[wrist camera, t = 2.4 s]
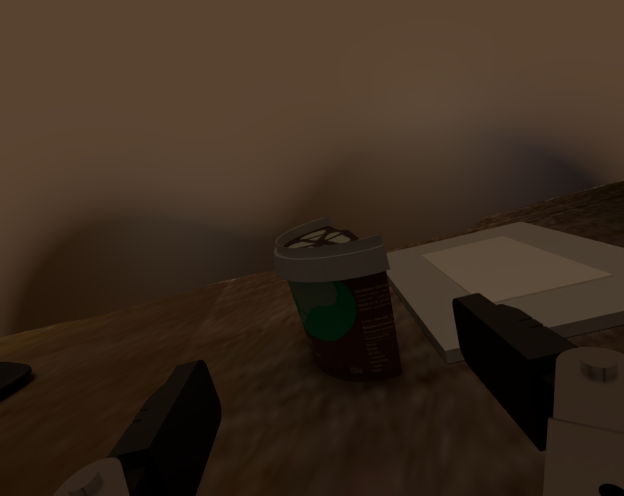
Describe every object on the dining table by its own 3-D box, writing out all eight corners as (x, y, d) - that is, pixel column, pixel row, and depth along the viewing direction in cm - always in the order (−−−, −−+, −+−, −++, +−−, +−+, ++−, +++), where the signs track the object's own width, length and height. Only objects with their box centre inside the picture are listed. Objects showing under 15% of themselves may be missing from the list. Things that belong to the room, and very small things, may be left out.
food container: (290, 334, 32) (261, 233, 30) (350, 314, 33) (327, 215, 31) (321, 421, 20) (278, 266, 18) (413, 387, 21) (383, 235, 19)
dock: (447, 364, 23) (444, 348, 22) (374, 263, 46) (373, 255, 46) (752, 295, 22) (754, 278, 22) (521, 228, 45) (520, 220, 45)
